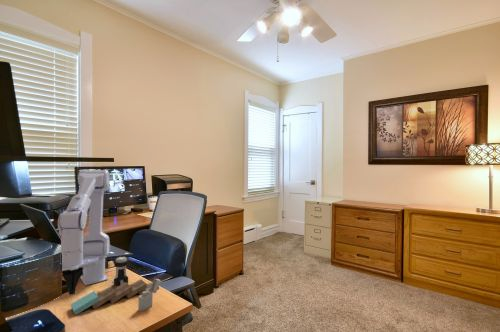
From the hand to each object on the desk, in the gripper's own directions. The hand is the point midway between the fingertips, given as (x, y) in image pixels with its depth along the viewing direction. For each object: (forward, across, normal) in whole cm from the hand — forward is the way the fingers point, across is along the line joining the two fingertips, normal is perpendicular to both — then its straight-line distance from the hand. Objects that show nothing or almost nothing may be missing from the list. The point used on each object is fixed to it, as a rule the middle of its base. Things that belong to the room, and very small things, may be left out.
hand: (71, 293), depth 83 cm
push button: (+6, +17, +11) cm, 21 cm away
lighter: (+6, +20, -12) cm, 24 cm away
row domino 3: (+5, +16, 0) cm, 17 cm away
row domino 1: (+5, +6, 0) cm, 8 cm away
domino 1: (+5, 0, 0) cm, 5 cm away
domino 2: (+6, +20, 0) cm, 21 cm away
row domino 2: (+5, +11, 0) cm, 12 cm away
